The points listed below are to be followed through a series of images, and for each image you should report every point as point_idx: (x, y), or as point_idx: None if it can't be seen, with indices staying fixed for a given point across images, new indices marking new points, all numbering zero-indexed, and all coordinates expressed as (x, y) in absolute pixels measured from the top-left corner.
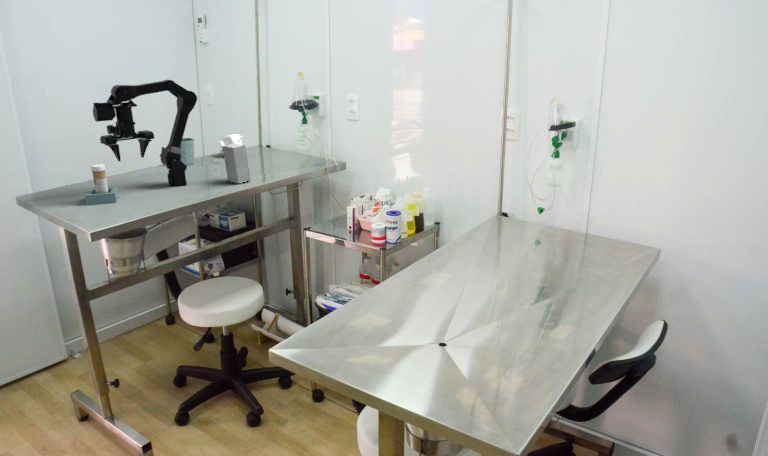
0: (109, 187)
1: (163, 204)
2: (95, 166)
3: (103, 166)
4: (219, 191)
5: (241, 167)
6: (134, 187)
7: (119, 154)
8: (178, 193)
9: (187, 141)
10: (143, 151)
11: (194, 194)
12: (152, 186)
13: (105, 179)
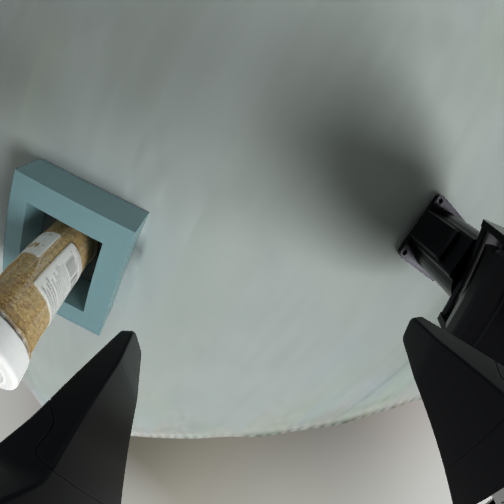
0: (96, 215)
1: (228, 408)
2: None
3: (16, 385)
4: (401, 385)
5: None
6: (293, 108)
7: (122, 445)
8: (338, 351)
9: None
10: (426, 408)
11: (352, 381)
12: (364, 172)
13: (48, 324)
